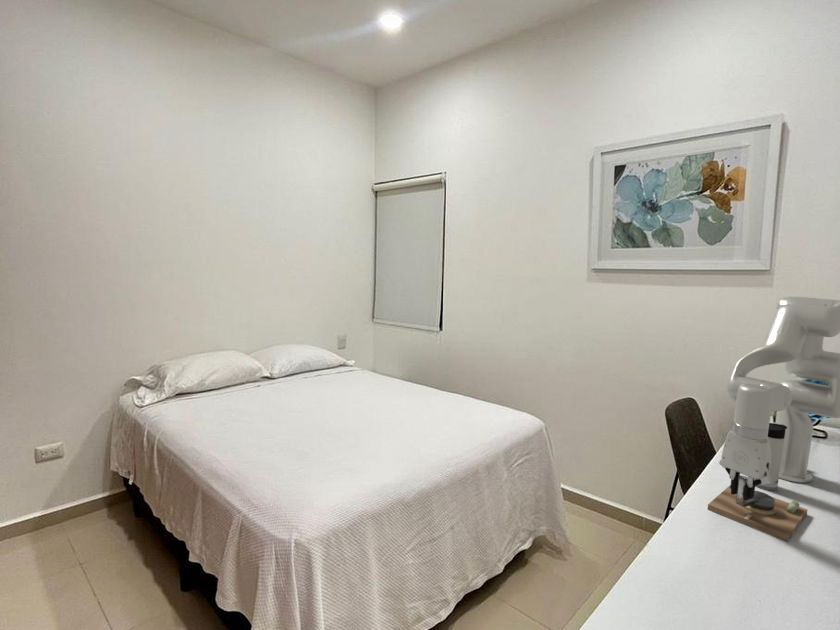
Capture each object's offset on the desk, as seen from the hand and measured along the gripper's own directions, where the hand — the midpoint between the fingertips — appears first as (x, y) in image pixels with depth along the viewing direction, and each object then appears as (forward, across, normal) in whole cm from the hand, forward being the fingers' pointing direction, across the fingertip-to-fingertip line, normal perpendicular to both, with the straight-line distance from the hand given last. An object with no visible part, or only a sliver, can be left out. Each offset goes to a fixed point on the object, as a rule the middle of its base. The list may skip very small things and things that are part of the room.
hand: (741, 495), depth 123 cm
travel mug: (+7, -7, +27) cm, 29 cm away
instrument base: (+6, 0, +8) cm, 10 cm away
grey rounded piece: (+4, 0, +5) cm, 6 cm away
